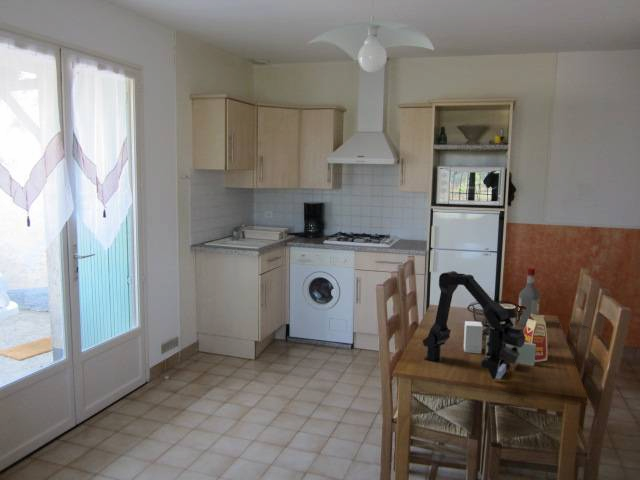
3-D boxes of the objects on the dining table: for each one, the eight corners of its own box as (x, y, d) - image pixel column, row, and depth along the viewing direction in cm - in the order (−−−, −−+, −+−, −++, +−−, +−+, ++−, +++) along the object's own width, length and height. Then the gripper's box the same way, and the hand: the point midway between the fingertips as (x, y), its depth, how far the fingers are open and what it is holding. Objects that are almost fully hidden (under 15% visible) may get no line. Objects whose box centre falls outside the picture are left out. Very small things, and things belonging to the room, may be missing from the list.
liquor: (516, 324, 275) (519, 268, 271) (521, 320, 282) (524, 266, 278) (534, 327, 270) (538, 271, 265) (538, 323, 277) (542, 268, 273)
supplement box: (481, 353, 232) (483, 326, 230) (464, 352, 233) (465, 325, 231) (480, 348, 239) (481, 321, 237) (463, 347, 240) (464, 320, 239)
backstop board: (533, 366, 218) (535, 345, 217) (485, 356, 229) (486, 336, 227) (534, 364, 220) (535, 344, 218) (486, 355, 230) (487, 335, 229)
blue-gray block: (500, 379, 205) (500, 371, 204) (492, 377, 206) (492, 370, 206) (505, 372, 212) (506, 364, 212) (497, 370, 214) (498, 362, 213)
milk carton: (531, 362, 222) (534, 317, 219) (517, 354, 231) (520, 311, 228) (549, 360, 225) (552, 315, 222) (535, 353, 233) (538, 309, 231)
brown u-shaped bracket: (513, 370, 213) (514, 359, 212) (493, 366, 217) (494, 355, 216) (517, 365, 219) (517, 354, 218) (497, 361, 223) (498, 350, 222)
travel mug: (503, 338, 252) (505, 302, 250) (517, 343, 246) (520, 306, 243) (492, 341, 248) (494, 305, 245) (506, 346, 241) (509, 309, 239)
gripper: (512, 351, 188) (509, 392, 190) (523, 337, 204) (520, 375, 206) (481, 345, 194) (479, 385, 196) (494, 332, 210) (492, 369, 212)
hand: (493, 378), depth 202 cm, fingers closed
